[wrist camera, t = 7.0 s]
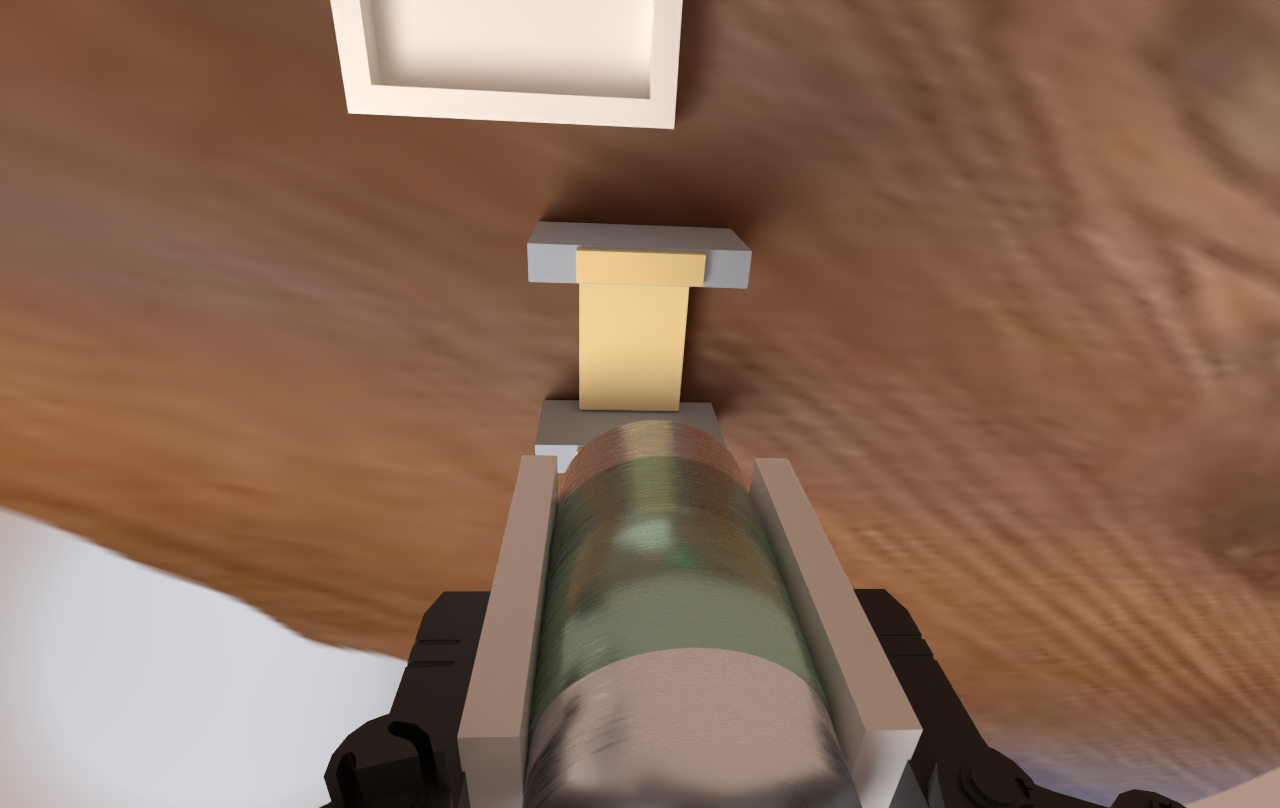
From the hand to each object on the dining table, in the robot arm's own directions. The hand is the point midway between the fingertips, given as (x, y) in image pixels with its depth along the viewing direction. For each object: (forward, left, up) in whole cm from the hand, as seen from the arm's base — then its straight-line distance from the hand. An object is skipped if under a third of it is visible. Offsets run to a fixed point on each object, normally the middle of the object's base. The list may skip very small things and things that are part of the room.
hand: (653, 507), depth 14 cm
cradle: (0, 0, -11) cm, 11 cm away
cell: (0, 0, 0) cm, 0 cm away
